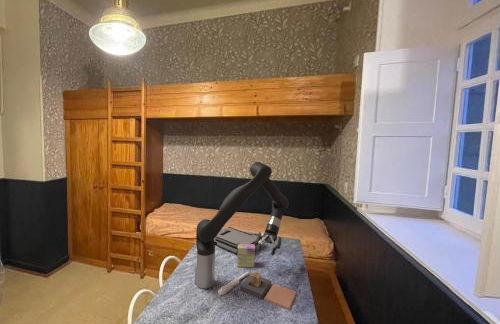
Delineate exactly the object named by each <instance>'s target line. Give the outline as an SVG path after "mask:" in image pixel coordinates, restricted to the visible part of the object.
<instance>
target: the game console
mask: <svg viewBox="0 0 500 324" xmlns="http://www.w3.org/2000/svg"><path fill="white" fill-rule="evenodd" d="M257 236H258V234H257V233H254V234H251V233H249V232H245V231H242V230H239V229H237V228H233V227H231V226H228V227H226V228H224V232H222V233H218V235H217V236H216V237H215V238H214V243H215V247H218V248H220V249H222V250H225V251H226V252H229V253H231V254H234V255H237V256H238V244H255V250H257V246H258V243H257V242H256V239H257ZM262 238H263V236H262V237H261V239H262ZM261 239H260V240H261Z"/></svg>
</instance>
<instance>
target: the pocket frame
mask: <svg viewBox="0 0 500 324" xmlns="http://www.w3.org/2000/svg"><path fill="white" fill-rule="evenodd" d="M252 274H253V273H249V274H248V275H247V276H246V277H245V279H244V281H243V282H241V283H240V284H239V291H240V292H242V293H244V294H248V295H249V296H253V297H255V298H256V299H260V300H262V299H263V298H264V297H265V296H266V294H267V293H268V291H269V289H270V288H271V286H272V280H270V279H268V278H266V277H262V276H261V286H260V287H259V288H256V287H253V286H251V275H252Z"/></svg>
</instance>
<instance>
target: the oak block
mask: <svg viewBox="0 0 500 324" xmlns="http://www.w3.org/2000/svg"><path fill="white" fill-rule="evenodd" d="M251 274H252V275H251V286H253V287H256V288H259V287H260V286H261V277H262V273H260V272H258V271H253V272H252V273H251Z"/></svg>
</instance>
